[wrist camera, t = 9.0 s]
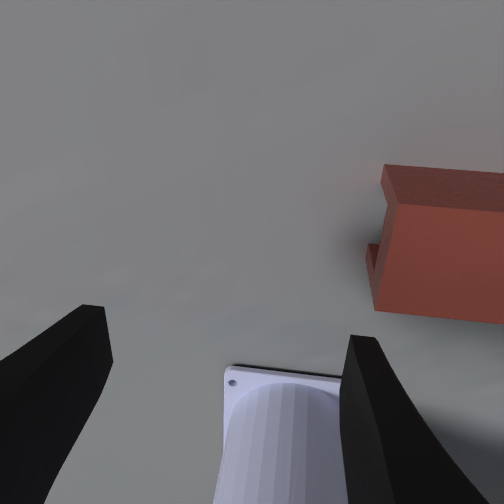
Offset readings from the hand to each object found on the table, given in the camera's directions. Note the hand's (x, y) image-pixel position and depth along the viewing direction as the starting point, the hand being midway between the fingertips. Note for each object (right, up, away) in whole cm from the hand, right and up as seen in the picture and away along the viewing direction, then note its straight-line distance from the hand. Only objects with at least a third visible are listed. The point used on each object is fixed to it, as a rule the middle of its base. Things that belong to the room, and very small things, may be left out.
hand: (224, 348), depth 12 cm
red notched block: (+10, +4, +7) cm, 13 cm away
